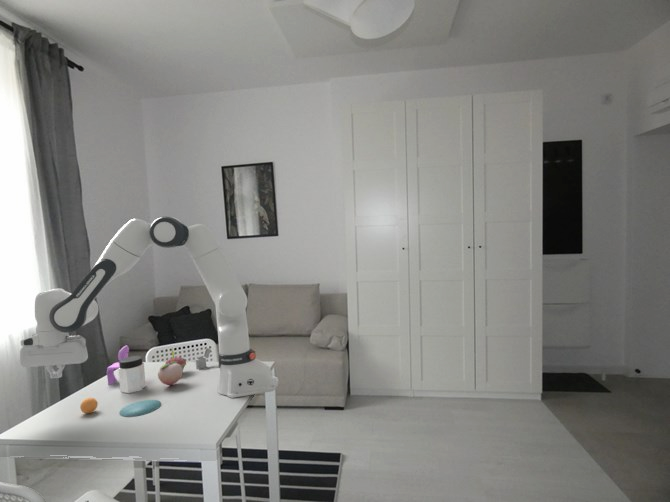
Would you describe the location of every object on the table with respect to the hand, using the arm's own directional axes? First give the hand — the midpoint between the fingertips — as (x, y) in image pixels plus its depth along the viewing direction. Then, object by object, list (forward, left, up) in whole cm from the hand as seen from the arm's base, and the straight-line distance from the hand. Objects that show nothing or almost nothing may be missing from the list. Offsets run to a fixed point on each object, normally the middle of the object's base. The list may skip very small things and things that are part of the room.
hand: (56, 377), depth 136 cm
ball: (-10, 0, -11) cm, 14 cm away
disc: (-27, 0, -13) cm, 30 cm away
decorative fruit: (-31, -20, -13) cm, 39 cm away
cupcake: (-28, -34, -13) cm, 46 cm away
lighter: (-38, -41, -13) cm, 57 cm away
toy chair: (-7, -30, -13) cm, 34 cm away
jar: (-16, -20, -13) cm, 29 cm away
